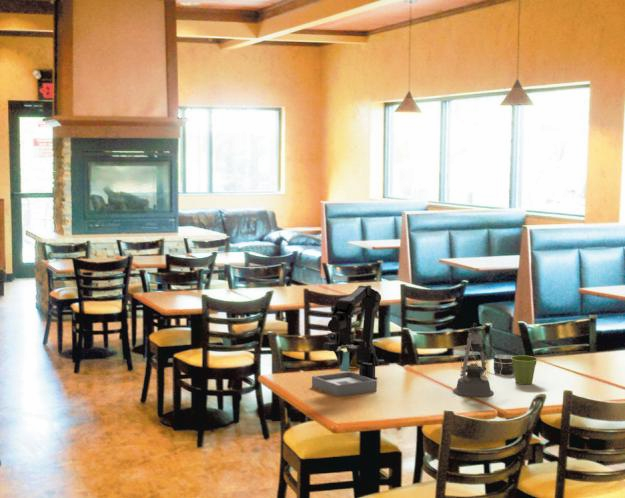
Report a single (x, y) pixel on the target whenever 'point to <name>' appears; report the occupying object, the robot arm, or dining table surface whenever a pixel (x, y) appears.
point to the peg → (345, 361)
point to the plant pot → (524, 368)
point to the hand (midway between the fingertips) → (344, 364)
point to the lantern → (474, 370)
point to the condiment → (354, 362)
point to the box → (344, 383)
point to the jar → (503, 364)
